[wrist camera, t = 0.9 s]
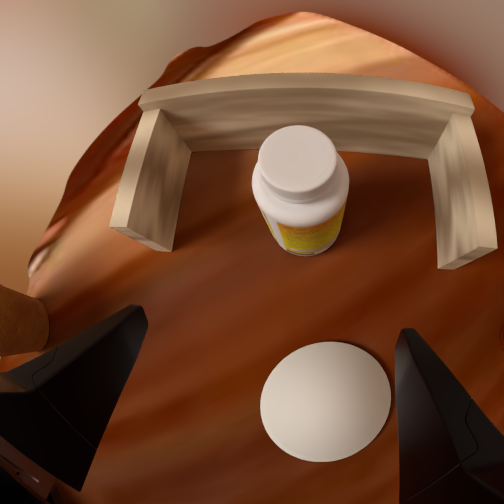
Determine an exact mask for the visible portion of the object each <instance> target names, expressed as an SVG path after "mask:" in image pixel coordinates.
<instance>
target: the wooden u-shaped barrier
mask: <svg viewBox="0 0 504 504" xmlns="http://www.w3.org/2000/svg"><path fill="white" fill-rule="evenodd" d="M138 105H139V107H140V108H141V109H142V110H143V111H144V112H143V115H142V118H141V120H140V123H139V126H138V129H137V131H136V134H135V137H134V140H133V143H132V146H131V149H130V152H129V155H128V159H127V162H126V165H125V168H124V172H123V175H122V179H121V182H120V186H119V189H118V193H117V197H116V201H115V205H114V209H113V213H112V217H111V221H110V226H109V227H111V228H113V229H115V230H116V231H118V232H120V233H122V234H124V235H126V236H128V237H130V238H132V239H134V240H136V241H138V242H140V243H142V244H144V245H146V246H148V247H150V248H152V249H154V250H156V251H167V252H172V247H173V241H174V235H175V230H176V224H177V219H178V213H179V208H180V203H181V198H182V193H183V188H184V184H185V179H186V174H187V170H188V165H189V161H190V157H191V152H199V151H217V150H245V149H260V148H261V146H262V144H263V143H264V141H265V140H266V139H267V138H268V137H269V136H270V135H271V134H272V133H274V132H275V131H277V130H279V129H281V128H284V127H288V126H294V125H302V126H309V127H312V128H315V129H317V130H319V131H321V132H323V133H324V134H325V135H326V136H327V137H328V138H329V139H330V140H331V141H332V142H333V144H334V146H335V149H336V151H348V152H362V153H375V154H385V155H395V156H404V157H412V158H420V159H427V160H428V164H429V170H430V176H431V183H432V191H433V199H434V209H435V220H436V234H437V255H438V269H453V270H454V269H456V268H458V267H460V266H463V265H465V264H467V263H469V262H471V261H473V260H475V259H477V258H479V257H481V256H483V255H485V254H487V253H489V252H491V251H493V250H495V249H497V248H498V247H497V237H496V228H495V220H494V213H493V206H492V200H491V195H490V189H489V184H488V180H487V175H486V170H485V166H484V162H483V158H482V154H481V150H480V147H479V143H478V140H477V136H476V133H475V130H474V127H473V124H472V120H471V115H472V113H473V112H474V110H475V108H474V106H473V103H472V100H471V98H470V95H469V94H468V93H464V92H460V91H456V90H452V89H448V88H443V87H439V86H434V85H429V84H423V83H418V82H412V81H406V80H399V79H392V78H384V77H375V76H364V75H352V74H335V73H271V74H253V75H240V76H230V77H221V78H212V79H205V80H198V81H191V82H185V83H179V84H174V85H168V86H163V87H158V88H153V89H149V90H145V91H144V92H143V94H142V96H141V99H140V101H139V103H138Z"/></svg>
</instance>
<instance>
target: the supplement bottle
mask: <svg viewBox="0 0 504 504" xmlns="http://www.w3.org/2000/svg"><path fill="white" fill-rule="evenodd" d="M252 189H253V194H254V197H255V199H256V202H257V204H258V206H259V208H260V210H261V212H262V214H263V216H264V218H265V220H266V223H267V225H268V227H269V229H270V231H271V233H272V235H273V237H274V238H275V240H276V241H277V243H278V244H279V245H280V246H281V247H282V248H283V249H285V250H286V251H288V252H290V253H292V254H295V255H299V256H312V255H316V254H319V253H321V252H323V251H325V250H326V249H328V248H329V247H330V246H331V245H332V244H333V243H334V241H335V240H336V238H337V236H338V234H339V231H340V228H341V223H342V219H343V214H344V210H345V205H346V200H347V195H348V190H349V174H348V170H347V167H346V165H345V163H344V161H343V160H342V158H341V157H340V155H339V154H338V153H337V152H336V149H335V146H334V144H333V142H332V141H331V140H330V139H329V138H328V137H327V136H326V135H325V134H324V133H323V132H321V131H319V130H317V129H315V128H312V127H309V126H302V125H294V126H288V127H284V128H281V129H279V130H277V131H275V132H274V133H272V134H271V135H270V136H269V137H268V138H267V139H266V140H265V141H264V143H263V144H262V146H261V148H260V151H259V155H258V162H257V163H256V165H255V168H254V171H253V175H252Z"/></svg>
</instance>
